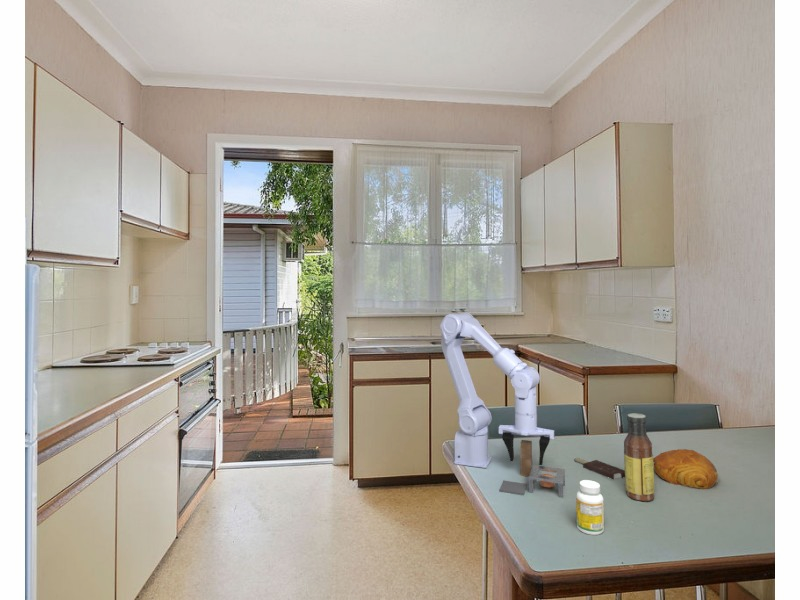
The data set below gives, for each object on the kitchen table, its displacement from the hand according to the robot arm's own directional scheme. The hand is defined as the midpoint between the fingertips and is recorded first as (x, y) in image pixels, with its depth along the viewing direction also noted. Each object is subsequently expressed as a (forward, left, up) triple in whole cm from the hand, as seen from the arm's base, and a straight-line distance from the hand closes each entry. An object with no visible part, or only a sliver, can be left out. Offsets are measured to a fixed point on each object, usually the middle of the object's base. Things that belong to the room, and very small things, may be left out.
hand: (526, 461), depth 124 cm
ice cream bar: (+18, +11, -4) cm, 21 cm away
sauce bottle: (+27, -4, -4) cm, 28 cm away
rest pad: (-2, -10, -3) cm, 11 cm away
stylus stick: (0, 0, -3) cm, 3 cm away
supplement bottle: (+16, -24, -4) cm, 29 cm away
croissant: (+39, +13, -4) cm, 41 cm away
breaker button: (+6, -7, -3) cm, 10 cm away
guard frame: (+6, -7, -3) cm, 10 cm away
